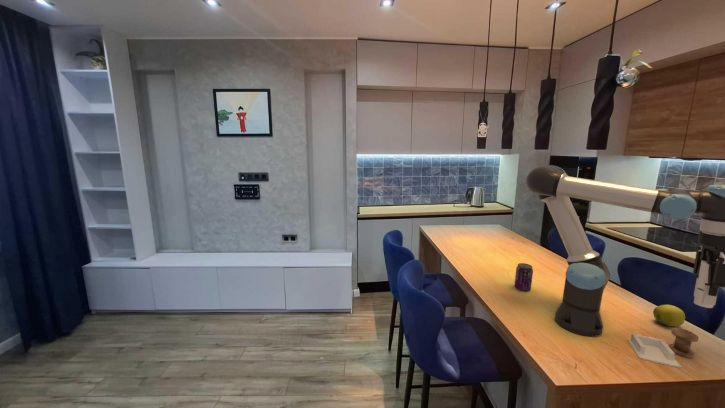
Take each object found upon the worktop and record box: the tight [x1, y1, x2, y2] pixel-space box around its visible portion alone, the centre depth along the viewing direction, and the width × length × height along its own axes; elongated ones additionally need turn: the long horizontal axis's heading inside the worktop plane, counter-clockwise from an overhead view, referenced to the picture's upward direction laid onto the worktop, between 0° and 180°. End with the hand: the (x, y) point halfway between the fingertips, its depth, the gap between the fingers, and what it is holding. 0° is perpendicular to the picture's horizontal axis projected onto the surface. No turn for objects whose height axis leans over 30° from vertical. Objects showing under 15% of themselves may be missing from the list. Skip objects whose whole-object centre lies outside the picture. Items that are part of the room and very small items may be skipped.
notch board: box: [627, 333, 682, 369], centre depth 98 cm, size 10×10×3 cm
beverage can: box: [514, 262, 534, 292], centre depth 142 cm, size 7×7×12 cm
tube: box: [693, 260, 717, 309], centre depth 97 cm, size 4×4×15 cm
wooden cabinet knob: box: [667, 327, 699, 359], centre depth 98 cm, size 6×6×7 cm
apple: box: [652, 304, 686, 327], centre depth 113 cm, size 8×9×8 cm
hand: (703, 300), depth 98 cm, fingers closed on tube, 4 cm apart
